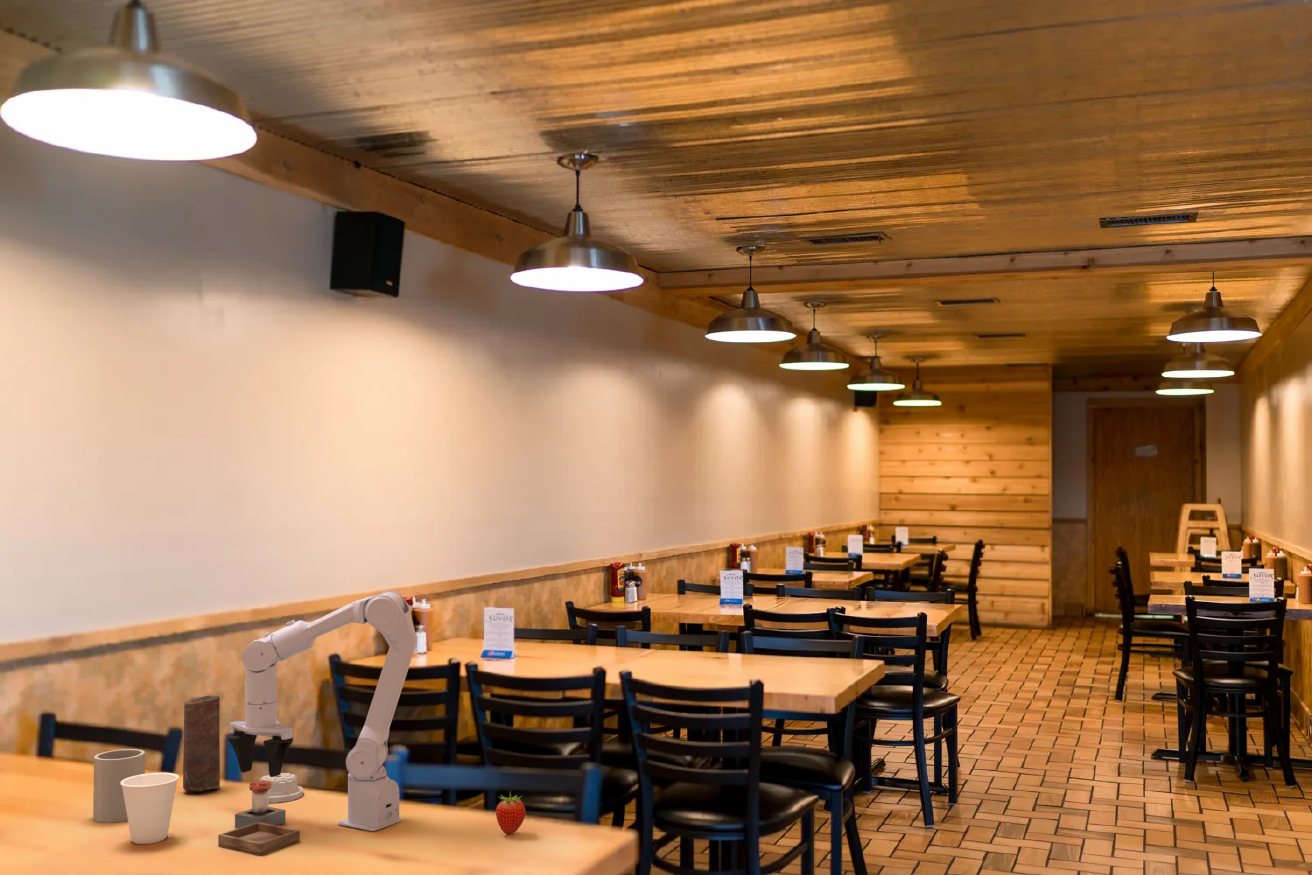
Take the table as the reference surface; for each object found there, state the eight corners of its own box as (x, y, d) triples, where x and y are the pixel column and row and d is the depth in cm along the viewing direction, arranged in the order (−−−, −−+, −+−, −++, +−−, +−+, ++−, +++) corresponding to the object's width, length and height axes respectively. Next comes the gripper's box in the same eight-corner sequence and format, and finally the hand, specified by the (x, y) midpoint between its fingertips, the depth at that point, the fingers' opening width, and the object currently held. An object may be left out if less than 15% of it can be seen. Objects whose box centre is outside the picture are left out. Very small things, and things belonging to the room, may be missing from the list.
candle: (211, 795, 240) (211, 699, 241) (176, 796, 241) (177, 699, 241) (225, 786, 248) (225, 693, 249) (191, 786, 248) (192, 693, 249)
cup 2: (121, 851, 204) (121, 788, 205) (118, 836, 213) (119, 776, 213) (181, 842, 209) (181, 781, 209) (176, 828, 218) (176, 769, 218)
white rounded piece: (245, 804, 235) (293, 804, 234) (245, 782, 235) (293, 782, 235) (263, 791, 245) (309, 791, 244) (263, 770, 245) (309, 770, 244)
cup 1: (82, 819, 224) (83, 757, 224) (120, 807, 232) (120, 747, 233) (117, 824, 221) (118, 761, 221) (154, 811, 229) (155, 751, 230)
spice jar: (275, 823, 220) (276, 781, 220) (259, 829, 216) (259, 786, 217) (261, 821, 222) (261, 779, 222) (244, 826, 218) (244, 784, 219)
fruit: (513, 828, 215) (513, 785, 216) (530, 834, 212) (530, 791, 212) (490, 835, 212) (490, 791, 212) (507, 841, 208) (507, 796, 208)
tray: (299, 841, 209) (299, 830, 209) (260, 855, 201) (260, 843, 201) (258, 832, 214) (258, 821, 215) (218, 846, 207) (218, 834, 207)
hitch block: (285, 823, 220) (285, 809, 220) (258, 832, 215) (258, 818, 215) (262, 818, 224) (262, 805, 224) (234, 827, 218) (234, 813, 218)
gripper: (304, 701, 220) (304, 772, 220) (249, 695, 227) (249, 764, 226) (276, 707, 214) (276, 781, 214) (221, 701, 221) (220, 772, 220)
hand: (260, 773), depth 220 cm, fingers open, 7 cm apart
